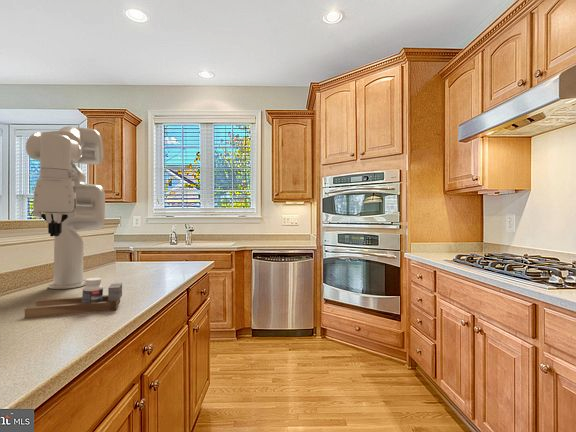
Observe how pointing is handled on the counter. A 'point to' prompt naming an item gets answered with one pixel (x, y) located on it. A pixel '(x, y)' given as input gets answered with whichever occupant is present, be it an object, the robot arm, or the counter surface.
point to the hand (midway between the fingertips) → (55, 235)
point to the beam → (76, 304)
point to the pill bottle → (92, 291)
